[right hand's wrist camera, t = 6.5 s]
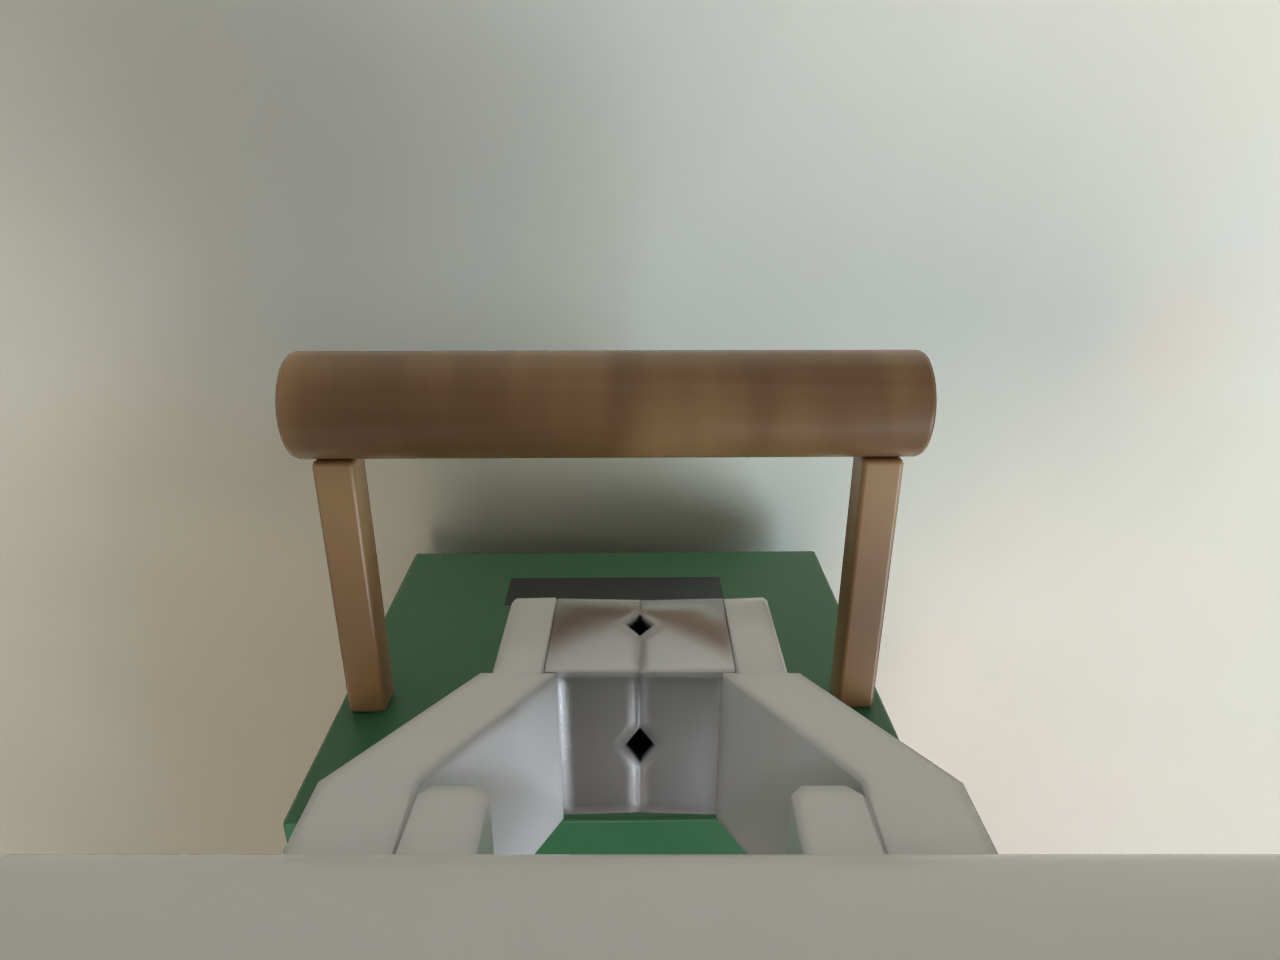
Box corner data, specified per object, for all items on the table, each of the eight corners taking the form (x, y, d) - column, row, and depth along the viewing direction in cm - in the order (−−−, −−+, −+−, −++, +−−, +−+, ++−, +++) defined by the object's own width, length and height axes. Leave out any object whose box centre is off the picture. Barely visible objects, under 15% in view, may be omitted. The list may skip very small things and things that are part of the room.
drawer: (386, 287, 17) (196, 410, 9) (838, 286, 17) (1005, 407, 9) (469, 1037, 25) (403, 1419, 18) (771, 1033, 25) (833, 1409, 18)
